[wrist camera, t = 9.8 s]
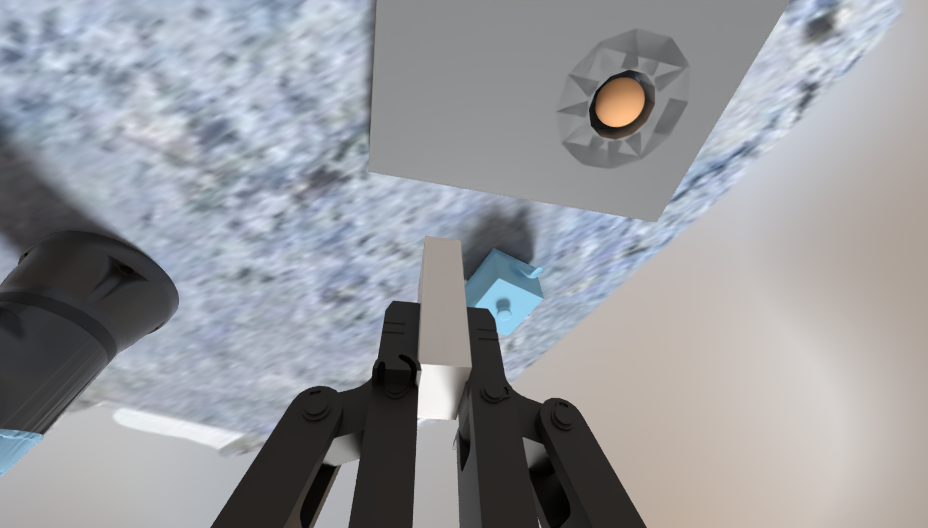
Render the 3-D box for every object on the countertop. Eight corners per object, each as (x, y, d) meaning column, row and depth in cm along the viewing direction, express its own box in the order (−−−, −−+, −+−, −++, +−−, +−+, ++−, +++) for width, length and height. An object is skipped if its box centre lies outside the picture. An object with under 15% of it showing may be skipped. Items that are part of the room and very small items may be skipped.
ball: (588, 124, 32) (634, 137, 31) (608, 74, 29) (657, 87, 29) (587, 115, 35) (628, 126, 34) (605, 69, 32) (649, 81, 32)
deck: (373, 159, 36) (368, 171, 34) (389, -121, 25) (383, -133, 22) (644, 208, 41) (656, 222, 38) (767, -10, 29) (796, -10, 27)
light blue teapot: (509, 221, 41) (519, 261, 35) (550, 243, 43) (566, 284, 37) (456, 290, 47) (457, 334, 41) (495, 307, 49) (501, 350, 43)
